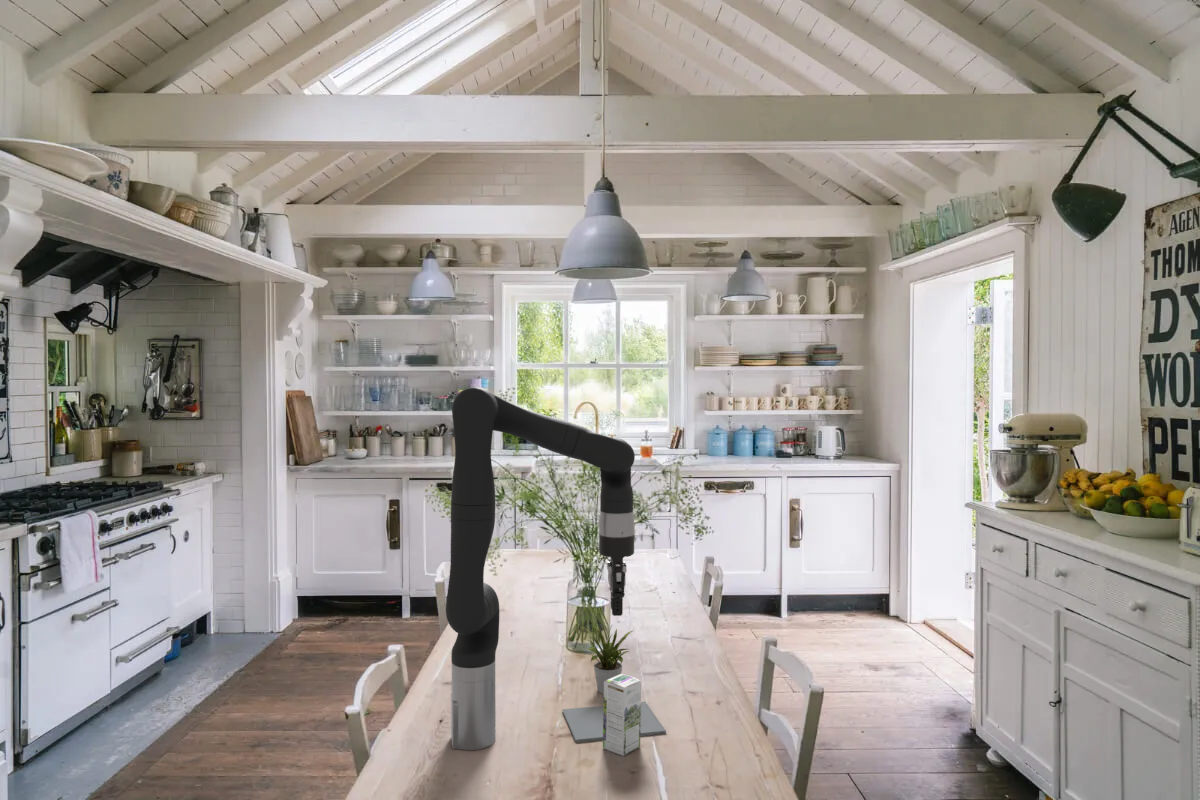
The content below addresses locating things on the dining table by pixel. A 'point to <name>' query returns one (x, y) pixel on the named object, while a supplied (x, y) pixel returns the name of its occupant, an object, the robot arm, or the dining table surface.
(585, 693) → the dining table surface
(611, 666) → the house plant
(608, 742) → the syrup box
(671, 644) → the dining table surface
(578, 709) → the rubber mat
